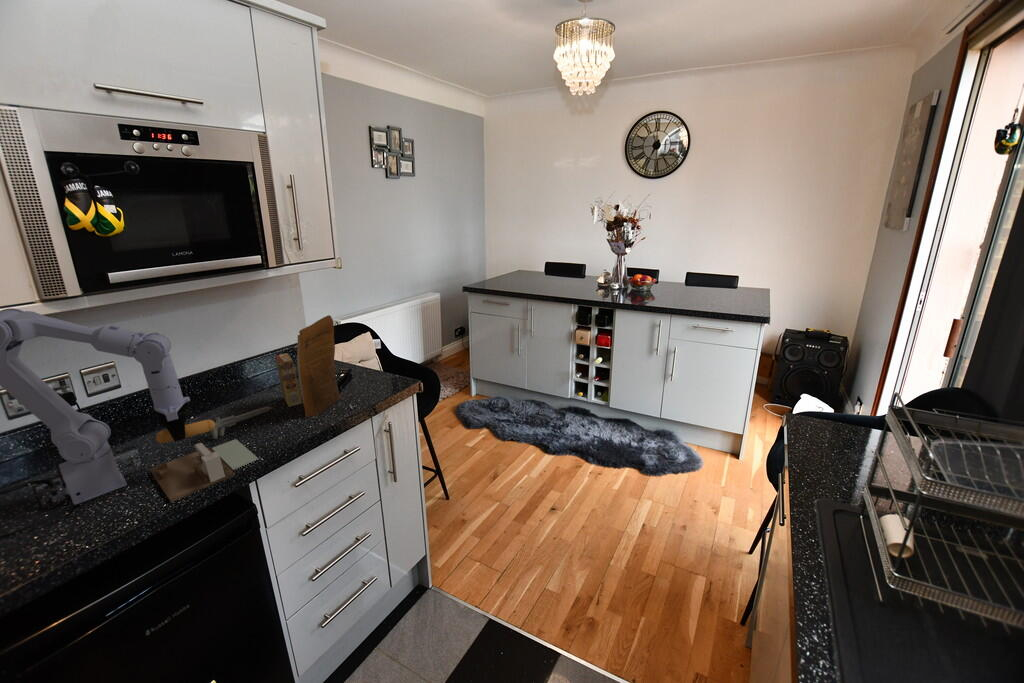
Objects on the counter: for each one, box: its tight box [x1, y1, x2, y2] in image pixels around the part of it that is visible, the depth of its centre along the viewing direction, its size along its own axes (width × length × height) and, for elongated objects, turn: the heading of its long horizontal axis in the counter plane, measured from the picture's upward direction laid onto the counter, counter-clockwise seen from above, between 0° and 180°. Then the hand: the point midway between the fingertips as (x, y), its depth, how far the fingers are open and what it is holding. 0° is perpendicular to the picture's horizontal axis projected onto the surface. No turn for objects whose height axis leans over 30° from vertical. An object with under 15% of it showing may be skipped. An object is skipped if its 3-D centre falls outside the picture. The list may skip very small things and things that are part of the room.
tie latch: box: [194, 442, 225, 482], centre depth 111 cm, size 3×11×6 cm, turn 48°
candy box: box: [274, 352, 303, 408], centre depth 149 cm, size 9×4×15 cm, turn 36°
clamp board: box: [149, 447, 235, 503], centre depth 113 cm, size 13×19×3 cm
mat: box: [211, 438, 259, 471], centre depth 121 cm, size 6×16×1 cm, turn 48°
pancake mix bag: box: [296, 315, 341, 418], centre depth 142 cm, size 7×19×28 cm, turn 164°
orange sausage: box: [155, 419, 215, 444], centre depth 113 cm, size 12×3×3 cm, turn 128°
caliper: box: [210, 406, 273, 440], centre depth 137 cm, size 20×1×6 cm, turn 162°
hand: (179, 436), depth 112 cm, fingers closed on orange sausage, 3 cm apart
